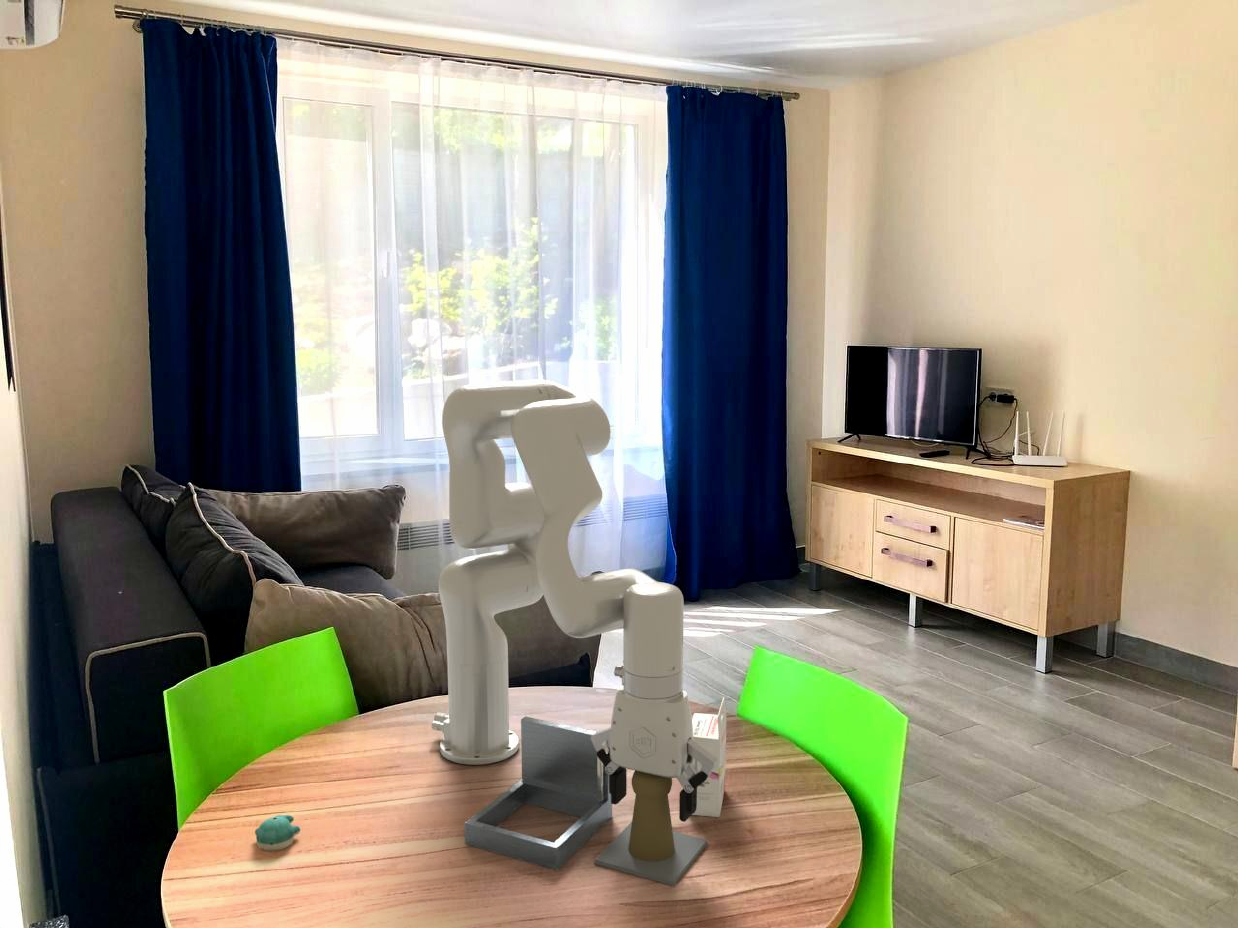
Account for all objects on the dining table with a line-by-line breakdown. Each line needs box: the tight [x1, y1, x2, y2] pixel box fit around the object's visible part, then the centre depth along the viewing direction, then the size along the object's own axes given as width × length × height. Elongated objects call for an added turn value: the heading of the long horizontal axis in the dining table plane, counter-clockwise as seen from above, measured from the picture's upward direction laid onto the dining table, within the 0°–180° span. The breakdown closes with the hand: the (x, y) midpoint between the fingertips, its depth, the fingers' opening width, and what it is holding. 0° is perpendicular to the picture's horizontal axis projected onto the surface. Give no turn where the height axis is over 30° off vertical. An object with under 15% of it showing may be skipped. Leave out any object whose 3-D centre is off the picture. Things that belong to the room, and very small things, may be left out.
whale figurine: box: [254, 814, 301, 851], centre depth 134 cm, size 6×7×4 cm
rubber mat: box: [594, 821, 708, 887], centre depth 130 cm, size 11×11×1 cm
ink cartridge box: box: [691, 696, 727, 818], centre depth 143 cm, size 9×5×15 cm, turn 168°
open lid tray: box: [464, 716, 613, 871], centre depth 135 cm, size 14×15×12 cm
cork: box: [628, 770, 675, 862], centre depth 129 cm, size 6×6×11 cm
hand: (652, 808), depth 129 cm, fingers open, 9 cm apart
